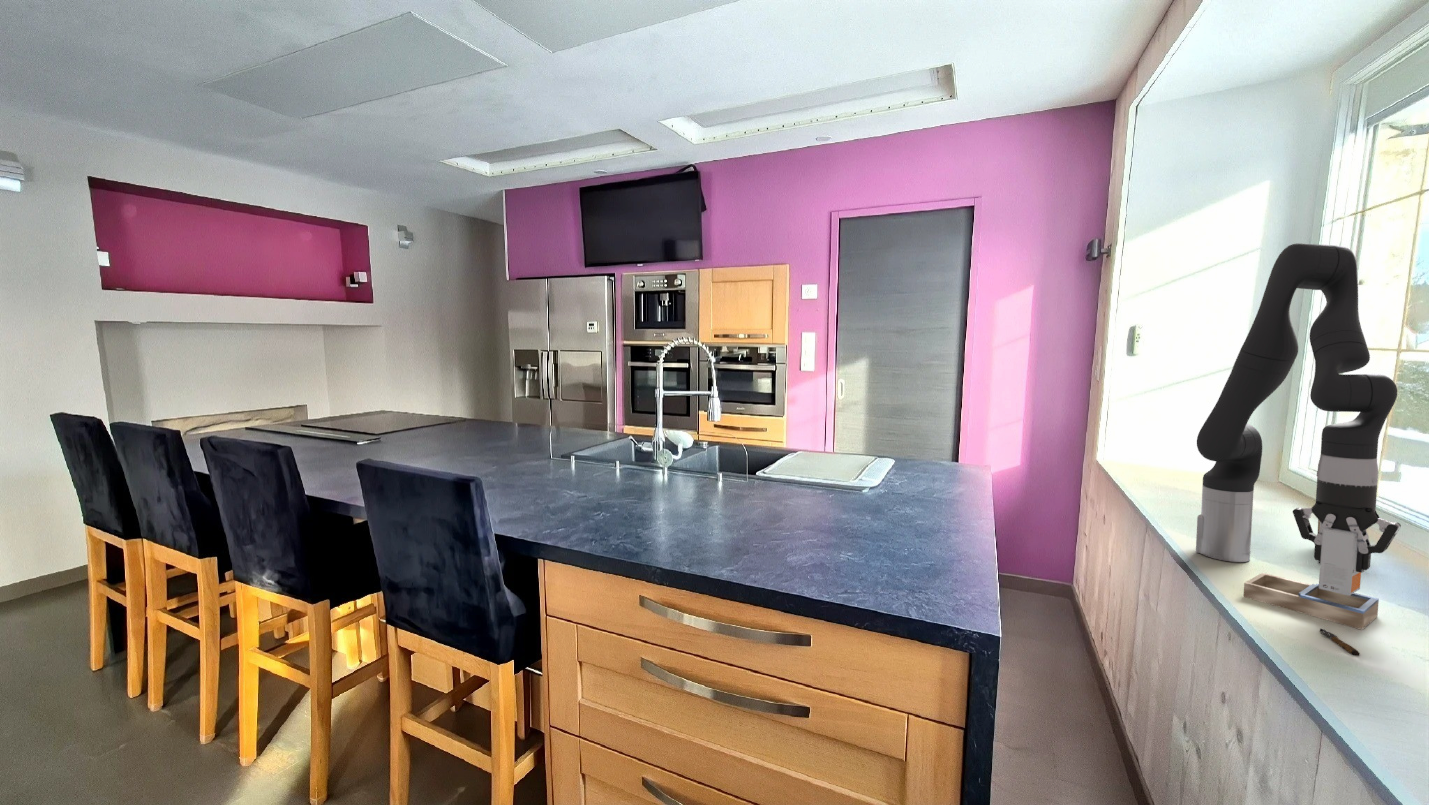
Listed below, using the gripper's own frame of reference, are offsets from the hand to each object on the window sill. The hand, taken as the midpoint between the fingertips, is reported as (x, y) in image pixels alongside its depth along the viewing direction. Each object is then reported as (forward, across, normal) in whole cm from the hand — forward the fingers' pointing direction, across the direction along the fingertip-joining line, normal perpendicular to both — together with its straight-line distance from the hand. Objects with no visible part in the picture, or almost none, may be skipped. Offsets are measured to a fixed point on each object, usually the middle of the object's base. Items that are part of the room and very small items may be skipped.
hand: (1340, 566), depth 106 cm
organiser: (+9, +4, 0) cm, 10 cm away
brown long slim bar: (+10, -3, +14) cm, 18 cm away
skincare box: (+5, 0, 0) cm, 5 cm away
